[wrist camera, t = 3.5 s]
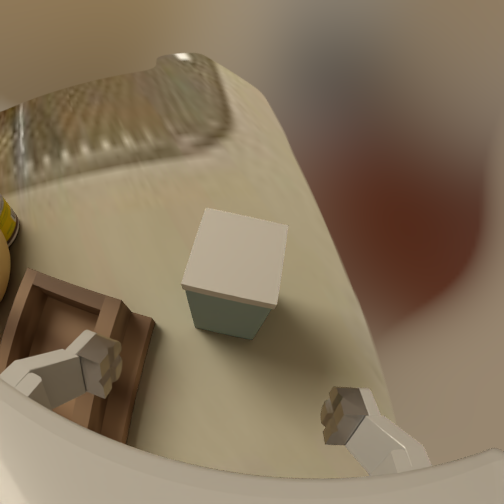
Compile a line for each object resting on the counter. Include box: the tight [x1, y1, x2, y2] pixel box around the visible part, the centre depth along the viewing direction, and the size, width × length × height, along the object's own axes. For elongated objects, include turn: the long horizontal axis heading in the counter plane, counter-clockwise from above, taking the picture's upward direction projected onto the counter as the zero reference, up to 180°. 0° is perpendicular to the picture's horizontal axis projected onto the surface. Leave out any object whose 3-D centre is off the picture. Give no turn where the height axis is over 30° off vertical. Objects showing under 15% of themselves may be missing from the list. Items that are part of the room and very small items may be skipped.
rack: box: [0, 268, 155, 444], centre depth 18 cm, size 12×14×4 cm
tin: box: [181, 208, 288, 340], centre depth 21 cm, size 5×5×10 cm
